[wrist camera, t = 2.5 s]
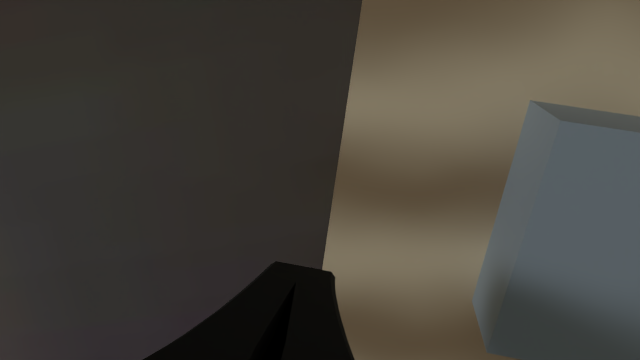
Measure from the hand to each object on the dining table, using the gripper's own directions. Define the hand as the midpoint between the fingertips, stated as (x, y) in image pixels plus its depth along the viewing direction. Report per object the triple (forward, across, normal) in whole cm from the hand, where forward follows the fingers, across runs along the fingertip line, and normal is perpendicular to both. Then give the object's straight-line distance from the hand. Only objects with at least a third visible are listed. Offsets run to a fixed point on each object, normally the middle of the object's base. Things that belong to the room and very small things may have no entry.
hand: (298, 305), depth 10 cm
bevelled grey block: (+8, -9, 0) cm, 12 cm away
